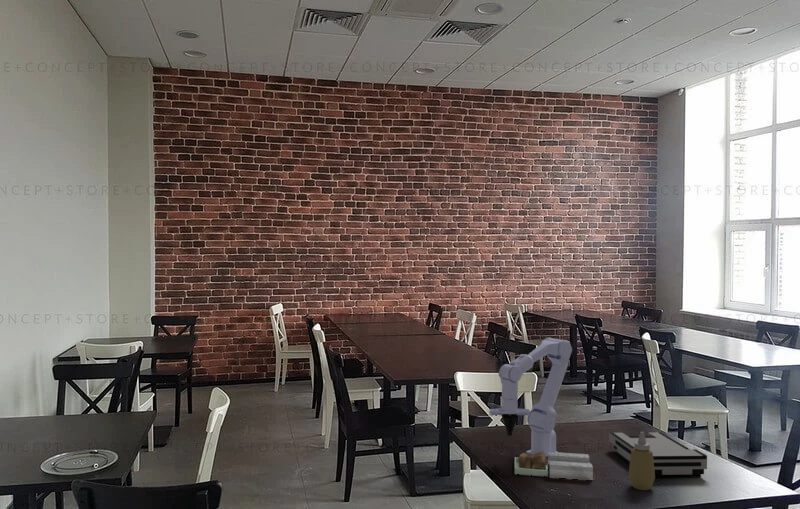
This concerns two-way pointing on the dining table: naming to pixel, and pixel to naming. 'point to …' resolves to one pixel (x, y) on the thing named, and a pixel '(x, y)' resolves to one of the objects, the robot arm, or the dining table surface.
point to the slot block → (569, 466)
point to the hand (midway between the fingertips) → (509, 434)
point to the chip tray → (530, 470)
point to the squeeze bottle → (641, 465)
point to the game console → (663, 454)
